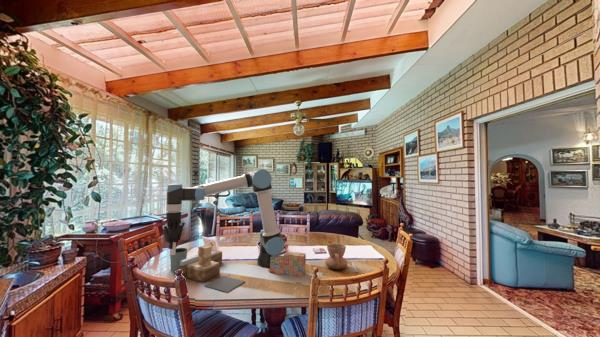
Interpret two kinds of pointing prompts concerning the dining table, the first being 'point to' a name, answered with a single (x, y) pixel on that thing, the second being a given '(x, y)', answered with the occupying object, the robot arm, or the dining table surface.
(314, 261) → the dining table surface
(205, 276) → the brown wooden open box
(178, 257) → the grey cup
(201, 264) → the lid
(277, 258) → the brown patterned box
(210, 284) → the mat
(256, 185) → the robot arm
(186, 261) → the light grey bar
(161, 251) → the dining table surface
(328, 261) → the ceramic jug
